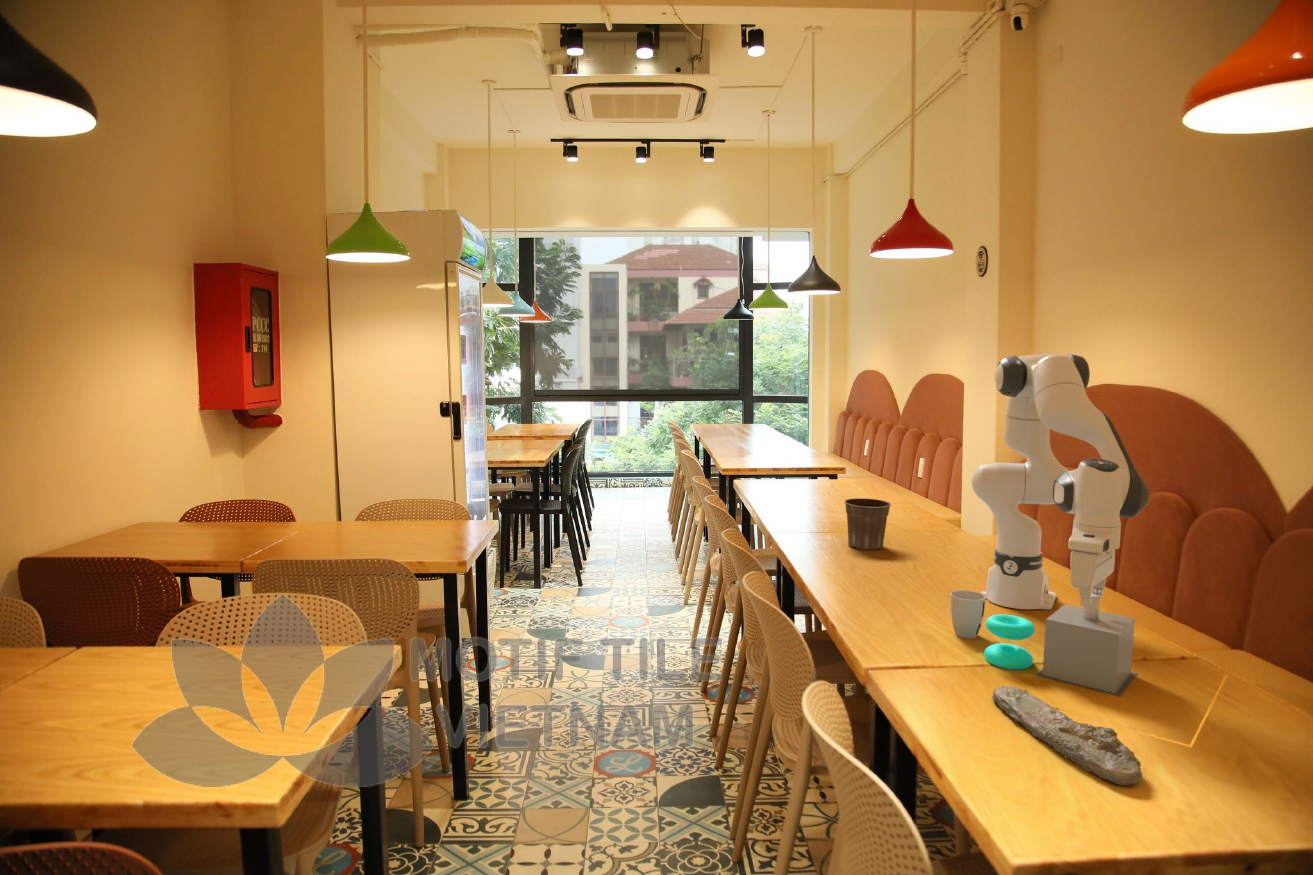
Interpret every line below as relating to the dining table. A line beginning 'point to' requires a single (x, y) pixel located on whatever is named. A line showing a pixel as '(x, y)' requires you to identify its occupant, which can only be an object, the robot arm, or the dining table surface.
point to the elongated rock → (1072, 737)
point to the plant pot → (866, 522)
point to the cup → (967, 612)
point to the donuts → (1011, 630)
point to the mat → (1118, 693)
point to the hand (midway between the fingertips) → (1091, 601)
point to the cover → (1089, 646)
